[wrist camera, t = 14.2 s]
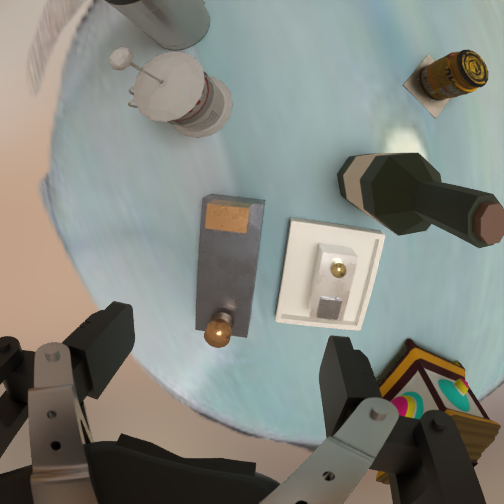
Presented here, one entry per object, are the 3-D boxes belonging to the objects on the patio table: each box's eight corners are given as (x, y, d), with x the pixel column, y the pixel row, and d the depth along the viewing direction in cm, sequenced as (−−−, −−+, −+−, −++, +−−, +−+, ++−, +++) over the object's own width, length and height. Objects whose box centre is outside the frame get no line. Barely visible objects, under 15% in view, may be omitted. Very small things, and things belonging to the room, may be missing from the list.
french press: (232, 136, 41) (175, 110, 18) (156, 140, 42) (45, 131, 18) (233, 73, 39) (184, -11, 15) (158, 79, 39) (57, 26, 16)
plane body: (210, 194, 44) (194, 202, 36) (265, 200, 44) (261, 210, 35) (202, 314, 50) (188, 343, 42) (249, 321, 50) (244, 352, 41)
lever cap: (318, 242, 44) (324, 254, 39) (351, 247, 44) (360, 259, 38) (306, 304, 47) (309, 321, 42) (337, 307, 47) (343, 324, 41)
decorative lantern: (466, 357, 49) (532, 455, 21) (409, 420, 55) (445, 523, 27) (406, 327, 48) (480, 456, 19) (345, 402, 54) (368, 531, 25)
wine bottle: (382, 214, 43) (510, 299, 14) (330, 201, 43) (420, 279, 14) (394, 161, 40) (544, 179, 12) (342, 146, 40) (457, 128, 12)
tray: (290, 217, 44) (291, 220, 42) (380, 231, 44) (385, 234, 41) (275, 314, 49) (275, 321, 47) (357, 322, 48) (360, 330, 46)
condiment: (458, 86, 35) (499, 74, 24) (435, 118, 37) (477, 110, 26) (427, 54, 34) (464, 32, 23) (402, 85, 37) (438, 66, 25)
